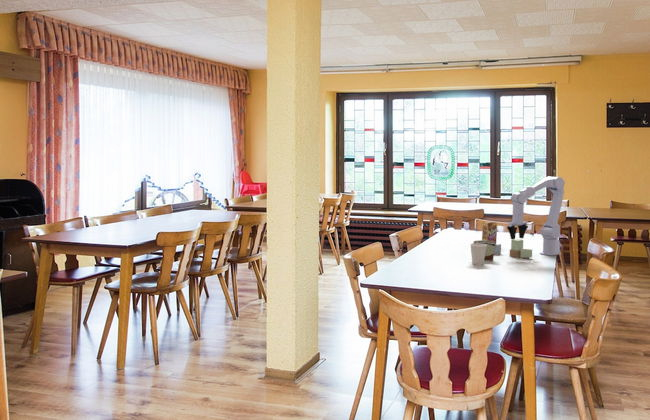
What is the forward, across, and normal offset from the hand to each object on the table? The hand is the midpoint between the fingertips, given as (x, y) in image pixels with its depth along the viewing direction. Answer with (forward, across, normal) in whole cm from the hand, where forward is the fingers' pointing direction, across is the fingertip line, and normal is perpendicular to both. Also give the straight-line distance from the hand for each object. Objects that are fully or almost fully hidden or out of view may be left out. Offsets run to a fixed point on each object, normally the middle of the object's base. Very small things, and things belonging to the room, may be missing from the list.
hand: (517, 238), depth 350 cm
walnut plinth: (+10, 0, 0) cm, 10 cm away
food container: (+10, +23, -3) cm, 25 cm away
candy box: (+10, -16, -32) cm, 37 cm away
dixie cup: (+10, +36, +3) cm, 38 cm away
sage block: (+6, 0, 0) cm, 6 cm away
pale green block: (+10, +1, +7) cm, 12 cm away
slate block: (+10, +2, -13) cm, 17 cm away
